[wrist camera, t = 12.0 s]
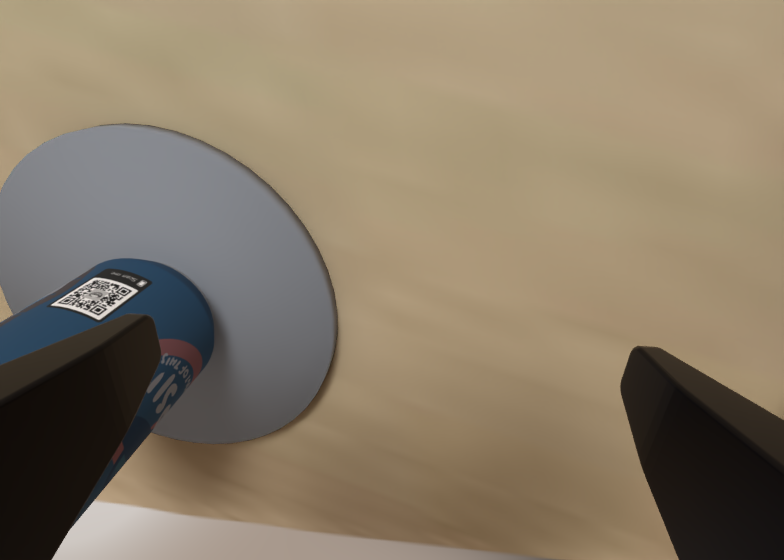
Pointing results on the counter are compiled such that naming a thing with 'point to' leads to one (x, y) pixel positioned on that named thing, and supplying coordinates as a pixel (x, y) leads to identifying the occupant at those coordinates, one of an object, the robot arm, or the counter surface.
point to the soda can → (109, 301)
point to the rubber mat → (182, 262)
